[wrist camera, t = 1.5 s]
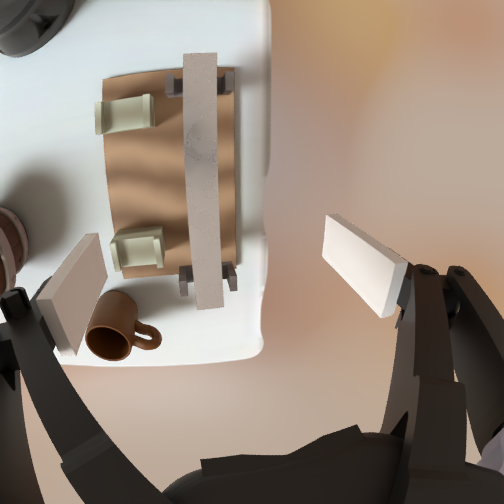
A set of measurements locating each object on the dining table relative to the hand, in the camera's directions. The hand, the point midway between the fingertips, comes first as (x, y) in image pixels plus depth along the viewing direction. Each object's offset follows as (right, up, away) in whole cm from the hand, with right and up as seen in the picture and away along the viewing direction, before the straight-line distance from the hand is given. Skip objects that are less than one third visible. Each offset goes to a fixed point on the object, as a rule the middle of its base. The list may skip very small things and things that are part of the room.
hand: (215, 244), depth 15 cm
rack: (-9, +10, +22) cm, 26 cm away
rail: (-4, +7, +15) cm, 17 cm away
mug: (-19, -10, +29) cm, 36 cm away
